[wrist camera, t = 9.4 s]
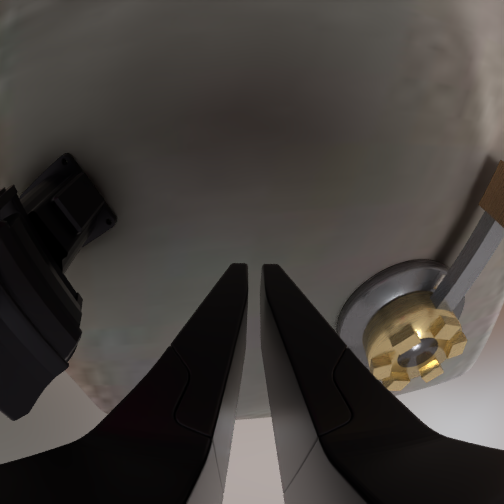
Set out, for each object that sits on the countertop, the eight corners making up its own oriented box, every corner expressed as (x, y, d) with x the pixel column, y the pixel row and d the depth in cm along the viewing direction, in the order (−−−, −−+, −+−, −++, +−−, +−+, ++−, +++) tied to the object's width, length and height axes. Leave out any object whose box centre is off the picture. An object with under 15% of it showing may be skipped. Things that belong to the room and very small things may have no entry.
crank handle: (413, 360, 30) (447, 458, 20) (344, 353, 28) (371, 471, 18) (534, 187, 18) (626, 274, 8) (474, 140, 17) (604, 236, 7)
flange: (355, 370, 33) (358, 381, 32) (317, 297, 27) (321, 311, 25) (458, 325, 30) (464, 335, 28) (454, 236, 23) (463, 247, 22)
